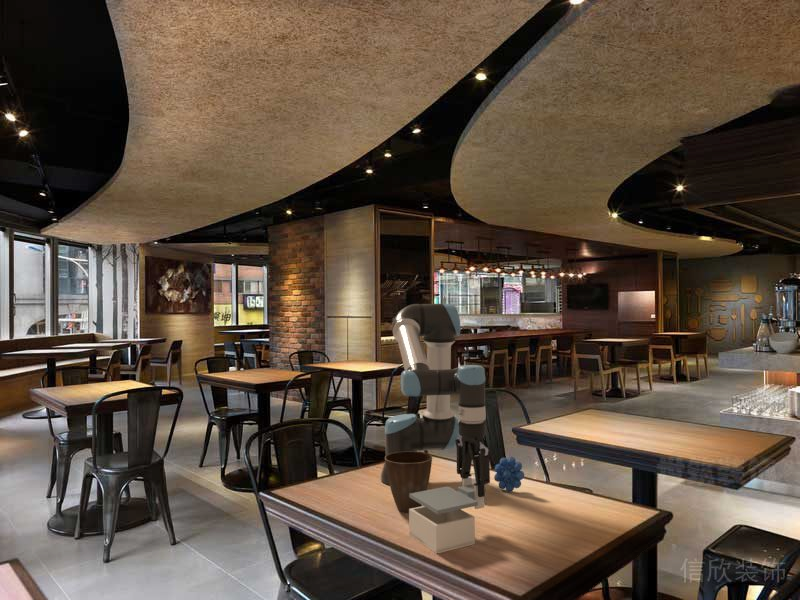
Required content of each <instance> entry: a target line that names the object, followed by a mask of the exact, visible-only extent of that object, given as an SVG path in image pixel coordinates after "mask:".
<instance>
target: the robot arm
mask: <svg viewBox="0 0 800 600" xmlns="http://www.w3.org/2000/svg"><path fill="white" fill-rule="evenodd" d="M461 327H462V326H461V319H460V315H459V311H458V308H457V307H456V306H455V305H454V304H452V303H420V304H419V303H413V304H409V305H407V306H405V307H404V308H402V309H401V310H399V311H398V312H397V314H396V315H395V317H394V318H393V320H392V324H391V331H392V336H393V338H394V339H395V340H396V341H397V344H398V348H399V352H400V356H401V360H402V364H403V369H404V370H402V372H401V374H400V387H401V388H400V389H401V393H402V395H404V396H405V397H424V396H426V409H425V410H424V411H423V412H422V417H418V416H417V414H415V413H403V414H399V415H393V416H391V417H389V418H388V419H386V421H385V426H384V427H385V428H384V429H385V430H384V434H385V456H386V455H388V454H391V453H396V452H406V451H412V452H421V451H437V450H438V451H439V450H440V451H444V450H451V449H453V448H454V447H456V474H458V475H460V478H461V487H462V486H467V485H472V478H468V477H470V476H472V475H471V470H472V466H473V471H474V473H475V479H476V483H474V500H476V501H478V506H474V509H475V510H477V509H483V508H485V504H484V496H486V485H488V484H491V472H490V471H491V470H490V467H491V466H490V465H491V463H490V454H491V450H492V449H491V447H486V446H485V443H484V440H483V438H484V437H485V436H486V433H487V431H486V428H487V425H486V424H487V423H486V422H485V421H486V419H487V418H486V417H487V416H486V414H487V413H486V375H485V374H486V373H485V368H484V366H483V365H478V364H461V365H460V366H458V367H456V368H453V369H452V368H451V365H452V364H451V361H452V356H451V355H452V351H451V350H452V346H453V344H454V343H455V342H456V337H458V336H460V334H461V329H462V328H461ZM421 337H422V338H423V340H421ZM422 341H423V342H422ZM423 343H425V344H426V346H427V350H426V351H427V352H425V348H424V346H423ZM426 355H427V356H426ZM455 395H457V397H458V399H457V401H458V418H457V416H455V413H454V412H453V411H452V409H451V396H455ZM459 436H461V438H459ZM380 480H381V481H380V482H382V484H385V485H388V486H390V484H389V480H388V476H387V470H386V464H385V462H384V463H383V466H382V469H381V473H380Z"/></svg>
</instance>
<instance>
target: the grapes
mask: <svg viewBox="0 0 800 600" xmlns="http://www.w3.org/2000/svg"><path fill="white" fill-rule="evenodd" d="M522 468H523V464H522V463H521V462H520V461H517V460H516V458H515V457H513V456H509V457H508V459H507V457H501V458H500V460H499V463H497V464H496V465H495V466H494V471H495V474H494V475H493V480H494V481H495V482H497V483H498V488H499V489H500V490H506V492H509V493H511V492H513V491H514V489H519V488H520V487H521V486H522V480H523V479H524V478H525V472H524V471H523V470H522Z"/></svg>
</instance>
